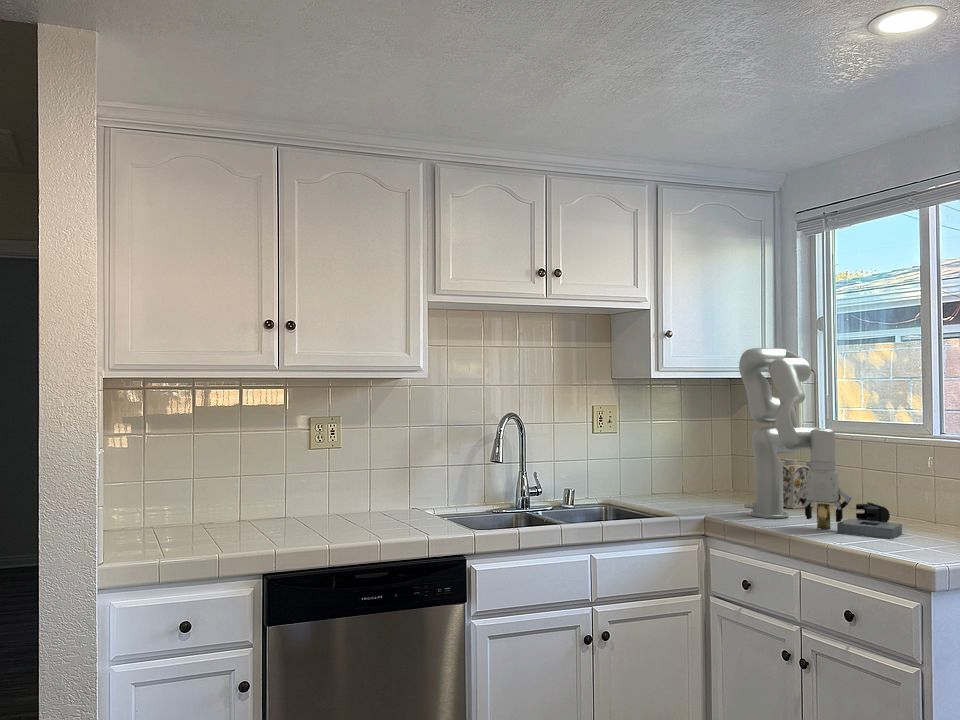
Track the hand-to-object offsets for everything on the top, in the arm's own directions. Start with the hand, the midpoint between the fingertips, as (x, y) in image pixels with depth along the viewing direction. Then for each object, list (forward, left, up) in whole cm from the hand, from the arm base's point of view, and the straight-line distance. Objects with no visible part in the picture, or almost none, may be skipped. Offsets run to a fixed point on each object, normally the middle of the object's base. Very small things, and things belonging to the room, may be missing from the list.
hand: (823, 520), depth 273 cm
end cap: (+10, +19, -3) cm, 22 cm away
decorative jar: (-25, +43, -3) cm, 50 cm away
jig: (+14, 0, -3) cm, 14 cm away
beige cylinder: (0, 0, -3) cm, 3 cm away
